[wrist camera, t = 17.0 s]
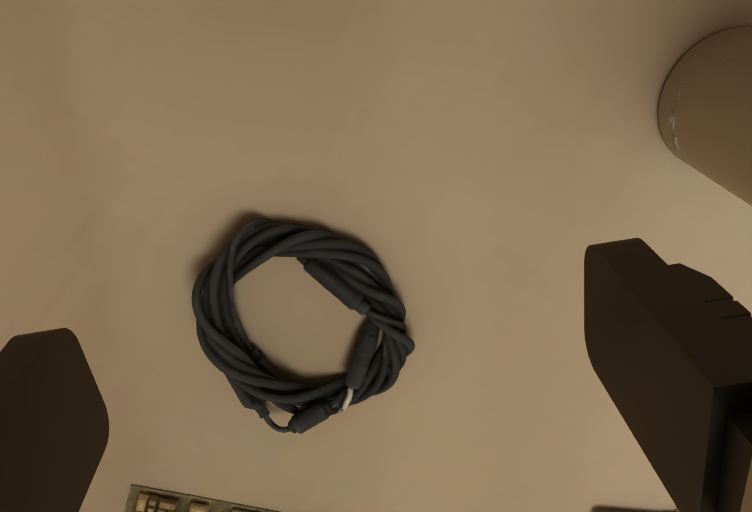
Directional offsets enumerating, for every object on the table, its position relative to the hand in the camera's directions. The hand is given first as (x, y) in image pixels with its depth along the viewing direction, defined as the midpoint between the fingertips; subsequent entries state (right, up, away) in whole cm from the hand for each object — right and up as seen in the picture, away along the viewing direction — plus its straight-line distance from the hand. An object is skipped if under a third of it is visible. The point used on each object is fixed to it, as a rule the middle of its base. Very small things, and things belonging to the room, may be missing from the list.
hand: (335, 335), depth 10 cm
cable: (-4, -3, +39) cm, 39 cm away
